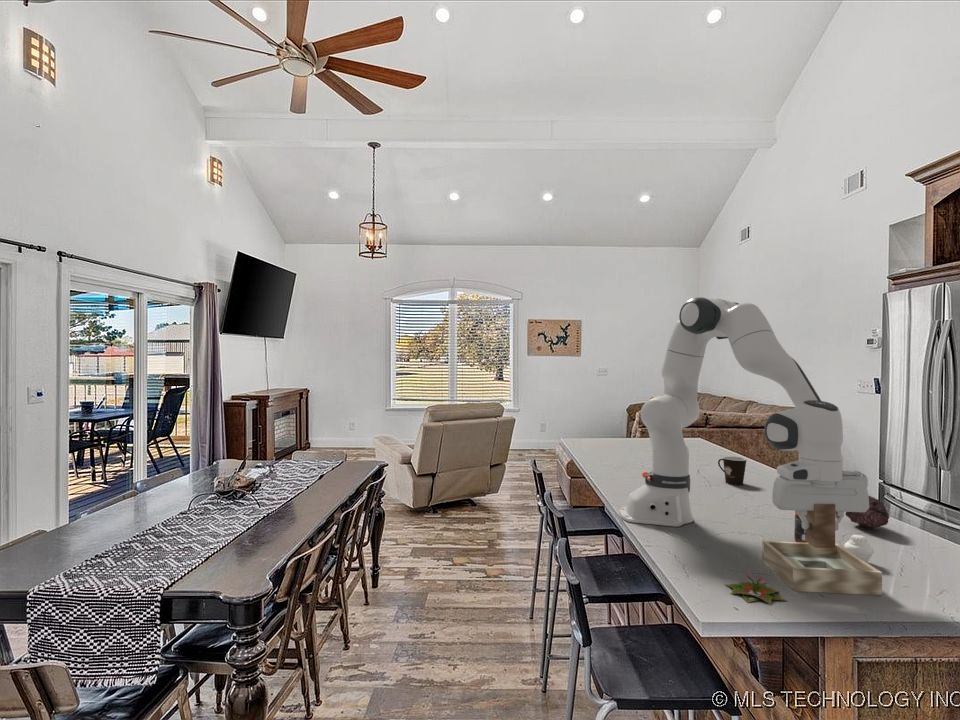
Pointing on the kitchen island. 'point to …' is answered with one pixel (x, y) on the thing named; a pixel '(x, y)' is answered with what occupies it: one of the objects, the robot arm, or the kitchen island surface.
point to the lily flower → (755, 590)
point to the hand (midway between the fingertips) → (819, 529)
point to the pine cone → (870, 515)
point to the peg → (821, 526)
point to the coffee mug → (733, 469)
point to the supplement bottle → (799, 529)
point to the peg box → (821, 568)
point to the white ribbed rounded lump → (859, 547)
